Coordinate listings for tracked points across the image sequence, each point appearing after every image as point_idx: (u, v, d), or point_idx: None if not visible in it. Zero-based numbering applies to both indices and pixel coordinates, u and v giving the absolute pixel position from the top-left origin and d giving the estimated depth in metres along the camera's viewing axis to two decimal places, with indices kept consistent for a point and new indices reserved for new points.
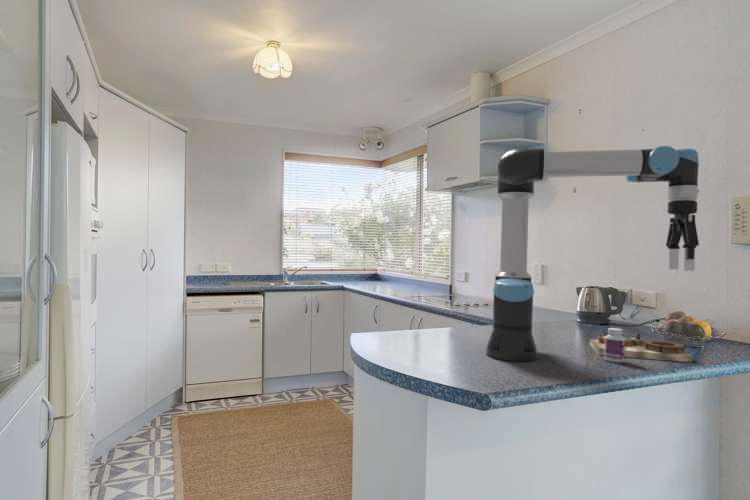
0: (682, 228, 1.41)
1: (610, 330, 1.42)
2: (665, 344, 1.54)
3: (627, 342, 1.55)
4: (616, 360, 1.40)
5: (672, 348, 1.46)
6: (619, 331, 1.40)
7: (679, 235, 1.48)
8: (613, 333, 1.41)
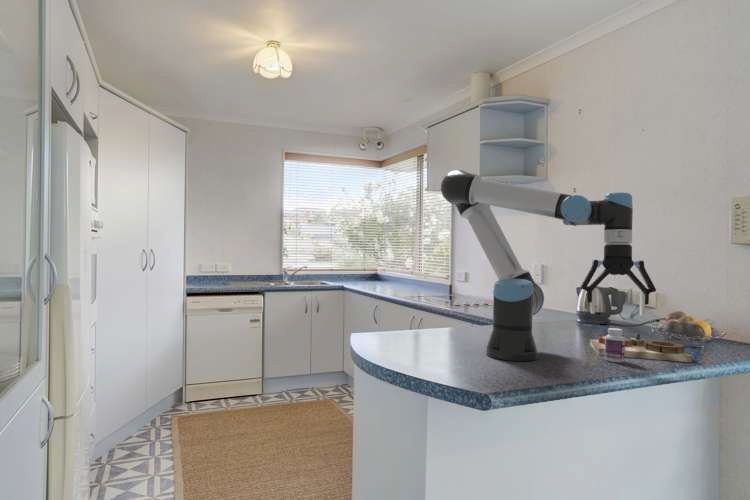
0: (602, 272, 1.44)
1: (610, 330, 1.42)
2: (665, 344, 1.54)
3: (627, 342, 1.55)
4: (616, 360, 1.40)
5: (672, 348, 1.46)
6: (619, 331, 1.40)
7: (632, 279, 1.41)
8: (613, 333, 1.41)
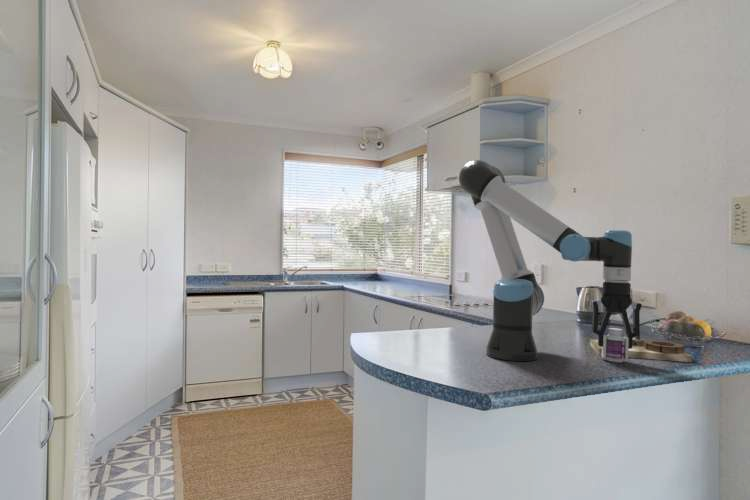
0: (605, 312, 1.44)
1: (610, 330, 1.42)
2: (665, 344, 1.54)
3: None
4: (616, 360, 1.40)
5: (672, 348, 1.46)
6: (619, 331, 1.40)
7: (623, 319, 1.41)
8: (613, 333, 1.41)
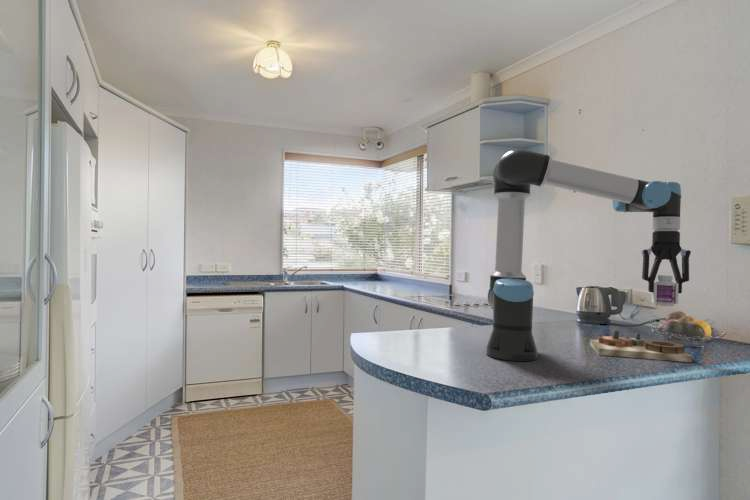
0: (654, 260, 1.53)
1: (660, 276, 1.50)
2: (665, 344, 1.54)
3: (627, 342, 1.55)
4: (667, 304, 1.48)
5: (672, 348, 1.46)
6: (669, 277, 1.49)
7: (673, 265, 1.50)
8: (663, 279, 1.49)
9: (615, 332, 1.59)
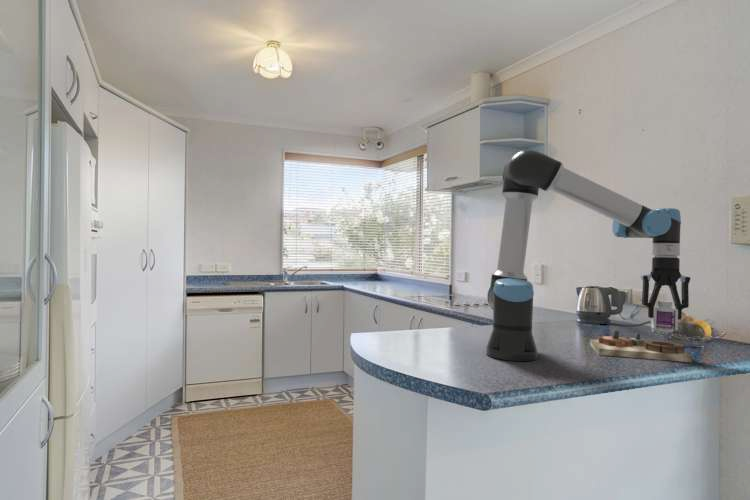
0: (654, 286, 1.53)
1: (660, 302, 1.50)
2: (665, 344, 1.54)
3: (627, 342, 1.55)
4: (667, 330, 1.48)
5: (672, 348, 1.46)
6: (669, 303, 1.49)
7: (672, 292, 1.50)
8: (663, 305, 1.50)
9: (615, 332, 1.59)
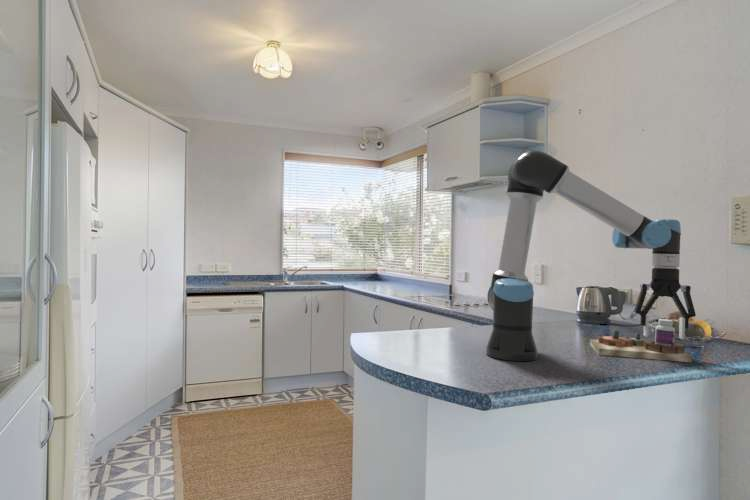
0: (651, 295, 1.53)
1: (661, 321, 1.50)
2: None
3: (627, 342, 1.55)
4: None
5: (672, 348, 1.46)
6: (670, 322, 1.49)
7: (676, 302, 1.50)
8: (664, 324, 1.49)
9: (615, 332, 1.59)
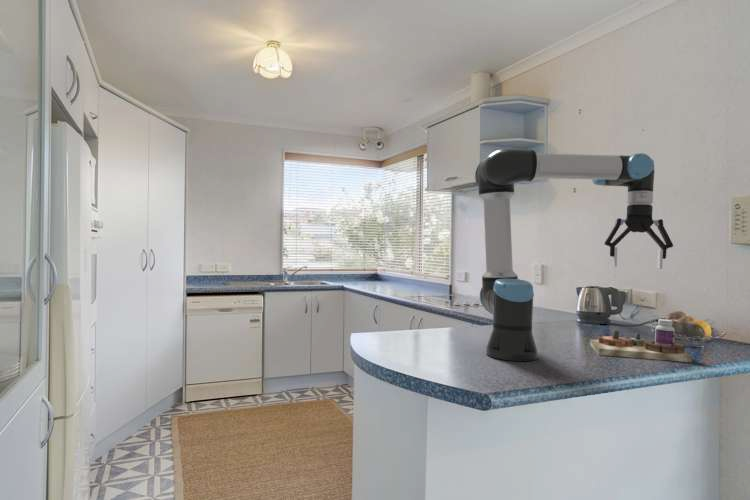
0: (624, 230, 1.61)
1: (661, 321, 1.50)
2: None
3: (627, 342, 1.55)
4: None
5: (672, 348, 1.46)
6: (670, 322, 1.49)
7: (652, 236, 1.57)
8: (664, 324, 1.49)
9: (615, 332, 1.59)
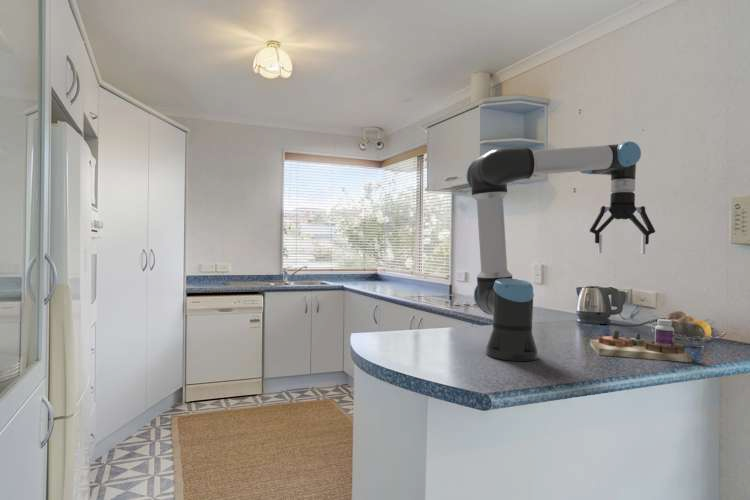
0: None
1: (660, 321, 1.50)
2: None
3: (627, 342, 1.55)
4: None
5: (672, 348, 1.46)
6: (669, 322, 1.49)
7: (634, 222, 1.62)
8: (663, 324, 1.50)
9: (615, 332, 1.59)
